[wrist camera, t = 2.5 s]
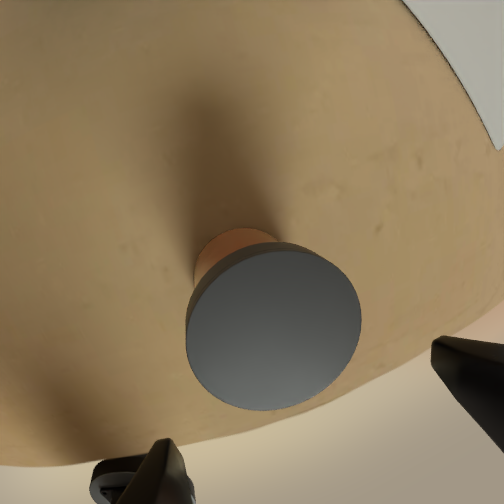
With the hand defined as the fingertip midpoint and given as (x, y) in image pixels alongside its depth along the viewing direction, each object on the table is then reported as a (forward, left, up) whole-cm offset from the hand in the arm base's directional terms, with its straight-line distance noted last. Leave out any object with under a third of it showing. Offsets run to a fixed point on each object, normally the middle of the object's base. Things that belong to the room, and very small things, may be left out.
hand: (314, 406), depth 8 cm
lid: (0, 0, -4) cm, 4 cm away
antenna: (+20, -30, -12) cm, 38 cm away
